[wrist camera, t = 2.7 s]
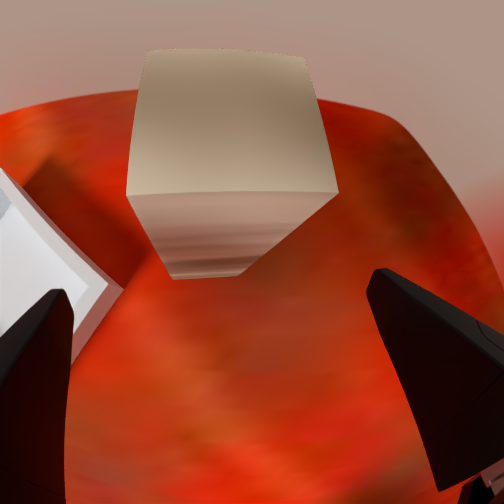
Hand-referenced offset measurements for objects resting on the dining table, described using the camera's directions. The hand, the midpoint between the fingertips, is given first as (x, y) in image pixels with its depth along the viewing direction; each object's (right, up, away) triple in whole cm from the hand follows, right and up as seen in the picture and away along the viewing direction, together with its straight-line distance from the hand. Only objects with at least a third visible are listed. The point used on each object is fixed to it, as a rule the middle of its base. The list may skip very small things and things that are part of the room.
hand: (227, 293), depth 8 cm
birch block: (-2, +1, +10) cm, 11 cm away
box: (-15, -2, +7) cm, 17 cm away
